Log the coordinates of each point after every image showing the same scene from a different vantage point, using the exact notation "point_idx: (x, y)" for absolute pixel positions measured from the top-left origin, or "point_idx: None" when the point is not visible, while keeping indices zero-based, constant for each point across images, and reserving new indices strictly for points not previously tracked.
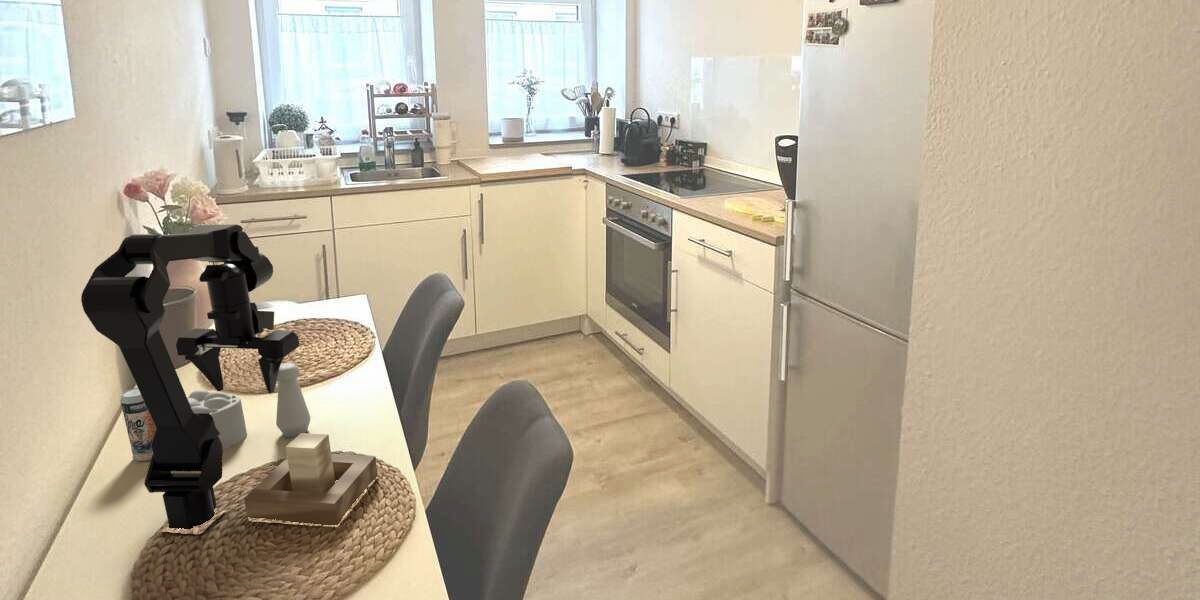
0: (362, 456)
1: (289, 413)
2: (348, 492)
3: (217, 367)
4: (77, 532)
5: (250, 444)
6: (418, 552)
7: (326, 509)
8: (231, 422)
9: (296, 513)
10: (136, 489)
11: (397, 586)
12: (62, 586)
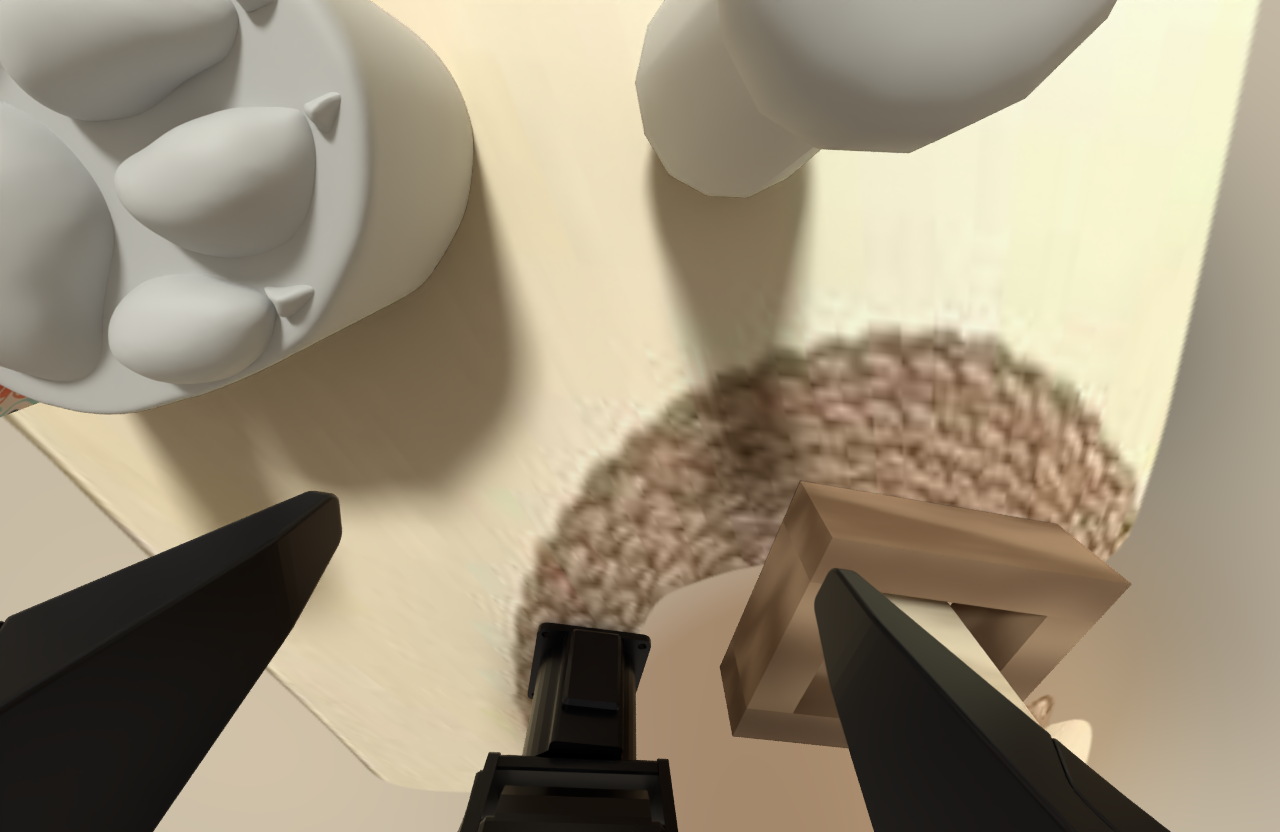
0: (1086, 583)
1: (764, 181)
2: None
3: (62, 738)
4: (322, 676)
5: (535, 224)
6: (1074, 748)
7: None
8: (413, 231)
9: None
10: None
11: None
12: (446, 785)
